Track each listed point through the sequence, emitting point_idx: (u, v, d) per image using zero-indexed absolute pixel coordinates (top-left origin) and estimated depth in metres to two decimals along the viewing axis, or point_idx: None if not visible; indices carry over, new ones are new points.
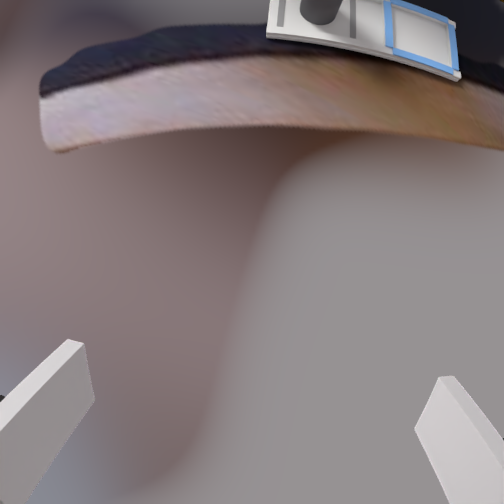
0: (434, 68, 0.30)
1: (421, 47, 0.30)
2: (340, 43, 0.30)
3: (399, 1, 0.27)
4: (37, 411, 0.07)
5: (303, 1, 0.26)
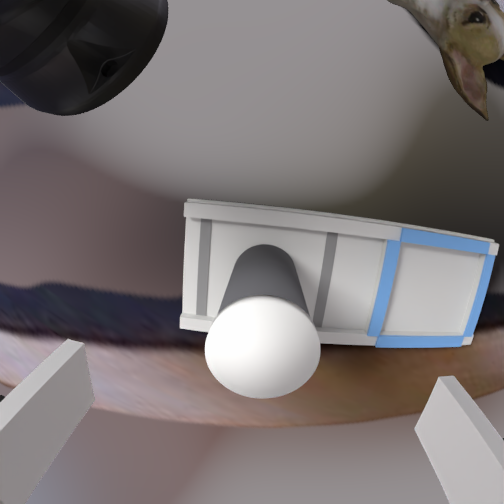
0: None
1: (428, 309, 0.23)
2: None
3: (417, 234, 0.21)
4: (38, 411, 0.07)
5: None
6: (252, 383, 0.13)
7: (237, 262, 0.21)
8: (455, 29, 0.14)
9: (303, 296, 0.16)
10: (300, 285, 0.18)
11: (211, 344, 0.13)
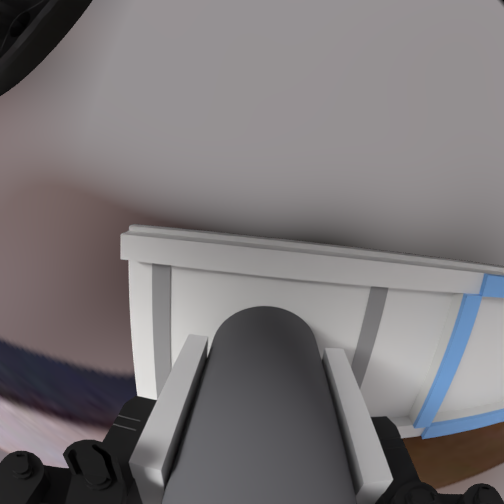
0: None
1: (493, 378, 0.13)
2: None
3: None
4: (189, 404, 0.08)
5: None
6: None
7: (215, 344, 0.11)
8: None
9: (344, 454, 0.06)
10: (334, 410, 0.08)
11: None
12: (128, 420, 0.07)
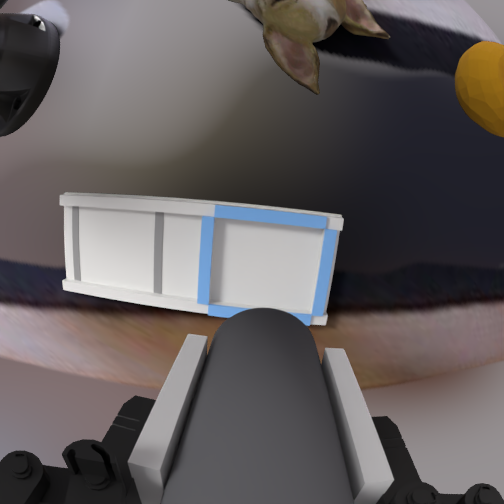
0: None
1: (265, 283, 0.28)
2: None
3: (230, 209, 0.25)
4: (188, 404, 0.08)
5: None
6: None
7: (214, 346, 0.11)
8: (267, 12, 0.18)
9: (342, 456, 0.06)
10: (332, 412, 0.08)
11: None
12: (127, 420, 0.07)
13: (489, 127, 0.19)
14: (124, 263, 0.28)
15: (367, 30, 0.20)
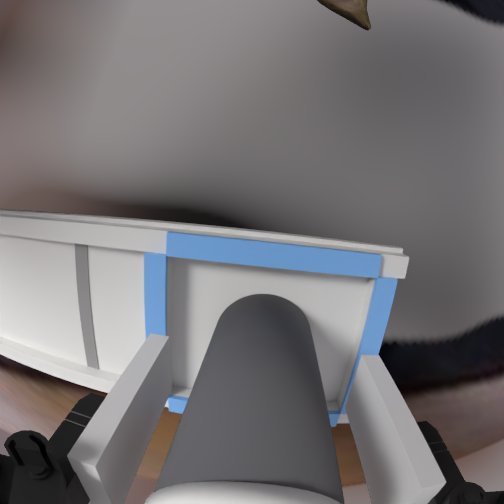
0: None
1: None
2: None
3: (196, 242, 0.13)
4: (140, 404, 0.08)
5: None
6: None
7: (218, 327, 0.13)
8: None
9: (327, 419, 0.08)
10: (321, 383, 0.10)
11: None
12: (79, 416, 0.07)
13: None
14: (42, 320, 0.15)
15: None
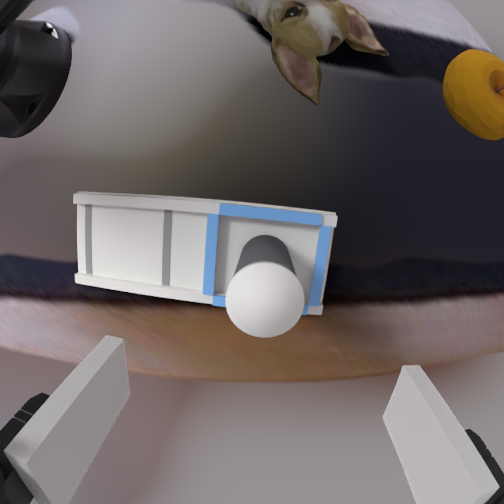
0: None
1: None
2: None
3: (234, 208, 0.27)
4: (84, 406, 0.07)
5: None
6: (258, 325, 0.19)
7: (244, 248, 0.28)
8: (276, 26, 0.21)
9: (293, 268, 0.23)
10: (291, 262, 0.24)
11: (230, 295, 0.19)
12: (27, 415, 0.06)
13: (473, 130, 0.21)
14: (134, 258, 0.30)
15: (368, 47, 0.23)
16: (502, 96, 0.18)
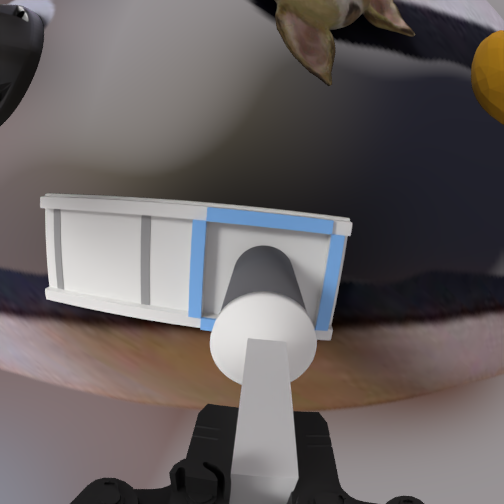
0: None
1: None
2: None
3: (225, 212, 0.22)
4: None
5: None
6: None
7: (237, 262, 0.22)
8: None
9: (300, 293, 0.17)
10: (297, 283, 0.19)
11: (216, 338, 0.14)
12: (207, 430, 0.08)
13: None
14: (108, 272, 0.25)
15: (391, 24, 0.17)
16: None
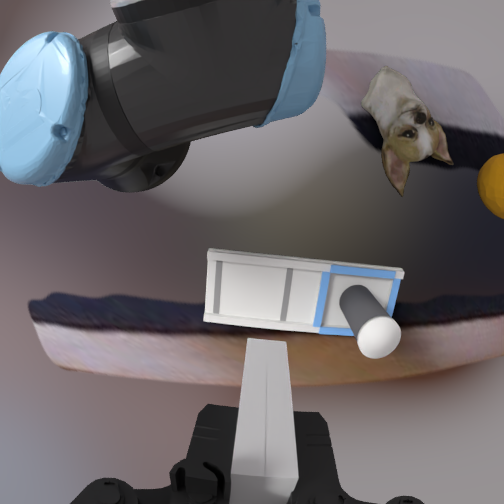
0: None
1: None
2: None
3: (341, 268, 0.39)
4: None
5: (345, 317, 0.38)
6: (374, 351, 0.30)
7: (346, 296, 0.39)
8: (392, 137, 0.31)
9: None
10: None
11: (362, 337, 0.30)
12: (207, 430, 0.08)
13: (495, 214, 0.32)
14: (259, 301, 0.41)
15: (441, 158, 0.34)
16: None
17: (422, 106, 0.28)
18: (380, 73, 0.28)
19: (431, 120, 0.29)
